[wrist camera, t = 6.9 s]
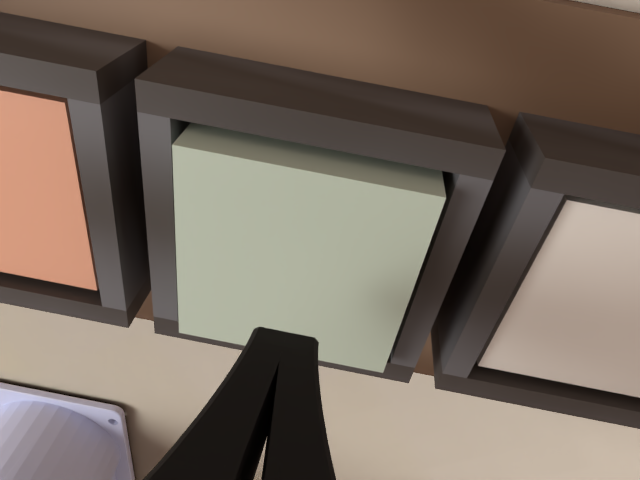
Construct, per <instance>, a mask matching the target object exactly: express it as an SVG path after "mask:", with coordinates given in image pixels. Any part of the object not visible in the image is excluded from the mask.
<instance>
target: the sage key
mask: <svg viewBox="0 0 640 480" xmlns="http://www.w3.org/2000/svg"><path fill="white" fill-rule="evenodd" d="M172 155H173V183H174V210H175V238H176V265H177V293H178V320H179V333H183V334H188V335H193V336H198V337H203V338H208V339H214V340H219V341H224V342H229V343H234V344H239V345H244V346H246V344H247V342H248V340H249V338H250V336H251V334H252V332H253V330H254V329H255V328H257V327H264V328H269V329H274V330H279V331H284V332H289V333H295V334H300V335H305V336H310V337H315V338H316V339H317V341H318V342H319V346H318V360H320V361H325V362H330V363H335V364H340V365H345V366H350V367H355V368H361V369H366V370H371V371H376V372H381V373H383V372H384V369H385V366H386V363H387V361H388V358H389V355H390V352H391V350H392V347H393V344H394V341H395V339H396V336H397V333H398V330H399V327H400V325H401V322H402V319H403V316H404V314H405V311H406V308H407V305H408V302H409V300H410V297H411V294H412V291H413V289H414V286H415V283H416V280H417V278H418V275H419V272H420V269H421V266H422V264H423V261H424V258H425V255H426V253H427V250H428V247H429V244H430V242H431V239H432V236H433V233H434V230H435V228H436V225H437V222H438V219H439V217H440V214H441V211H442V208H443V205H444V203H445V200H446V193H445V187H444V181H443V175H442V171H440V170H435V169H430V168H425V167H420V166H415V165H409V164H404V163H399V162H394V161H389V160H384V159H378V158H373V157H368V156H363V155H358V154H353V153H347V152H342V151H337V150H332V149H327V148H321V147H316V146H311V145H306V144H301V143H296V142H290V141H285V140H280V139H275V138H270V137H265V136H259V135H254V134H249V133H244V132H239V131H234V130H228V129H223V128H218V127H213V126H208V125H202V124H197V123H192V122H191V123H190V124H189V125H188V127H187V128H186V129H185V130H184V131H183V132H182V134H181V135H180V136H179V137H178V138H177V140H176V141H175V142H174V143H173V144H172Z"/></svg>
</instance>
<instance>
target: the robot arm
mask: <svg viewBox="0 0 640 480" xmlns="http://www.w3.org/2000/svg"><path fill="white" fill-rule="evenodd" d="M318 346H319V342H318V341H317V339H316V338H315V337H310V336H305V335H300V334H295V333H289V332H284V331H279V330H274V329H269V328H264V327H257V328H255V329H254V330H253V332H252V334H251V336H250V338H249V340H248V342H247V344H246V346H245V347H244V349H243V351H242V353H241V354H240V356H239V358H238V359H237V361H236V362H235V364H234V365H233V367H232V369H231V370H230V372H229V373H228V375H227V376H226V378H225V379H224V381H223V382H222V383H221V385H220V386H219V387H218V389H217V390H216V392H215V393H214V394H213V396H212V397H211V399H210V400H209V401H208V403H207V404H206V406H205V407H204V408H203V409H202V411H201V412H200V413H199V415H198V416H197V417H196V418H195V420H194V421H193V422H192V423H191V425H190V426H189V427H188V428H187V430H186V431H185V432H184V433H183V434H182V436H181V437H180V438H179V439H178V441H177V442H176V443H175V444H174V446H173V447H172V448H171V449H170V450H169V451H168V453H167V454H166V455H165V456H164V457H163V458H162V459H161V461H160V462H159V463H158V464H157V465H156V466H155V467H154V468H153V470H152V471H151V472H150V473H149V474H148V475H147V476H146V477H145V478H144V479H143V480H253V479H254V476H255V473H256V470H257V467H258V463H259V460H260V457H261V454H262V451H263V448H264V444H265V441H266V438H267V442H266V450H265V457H264V465H263V472H262V480H336V477H335V473H334V468H333V464H332V460H331V455H330V450H329V445H328V440H327V434H326V428H325V422H324V416H323V410H322V403H321V395H320V385H319V372H318ZM0 480H135V477H134V471H133V464H132V458H131V452H130V445H129V439H128V433H127V426H126V420H125V414H124V411H123V409H122V408H120V407H119V406H116V405H112V404H107V403H102V402H97V401H92V400H87V399H82V398H77V397H72V396H67V395H62V394H57V393H52V392H47V391H41V390H36V389H31V388H26V387H21V386H16V385H11V384H6V383H1V382H0Z"/></svg>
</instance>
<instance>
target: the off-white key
mask: <svg viewBox="0 0 640 480" xmlns="http://www.w3.org/2000/svg"><path fill="white" fill-rule="evenodd" d="M477 364H478V366H482V367H487V368H492V369H497V370H502V371H507V372H512V373H517V374H522V375H528V376H533V377H538V378H543V379H548V380H553V381H558V382H563V383H568V384H573V385H578V386H583V387H588V388H594V389H599V390H604V391H609V392H614V393H619V394H624V395H629V396H634V397H639V398H640V209H637V208H632V207H627V206H621V205H616V204H611V203H606V202H601V201H596V200H590V199H585V198H580V197H575V196H570V195H565V194H564V196H563V198H562V200H561V202H560V204H559V206H558V207H557V209H556V211H555V213H554V215H553V217H552V219H551V221H550V222H549V224H548V226H547V228H546V230H545V232H544V234H543V236H542V238H541V239H540V241H539V243H538V245H537V247H536V249H535V251H534V253H533V255H532V256H531V258H530V260H529V262H528V264H527V266H526V268H525V270H524V271H523V273H522V275H521V277H520V279H519V281H518V283H517V285H516V287H515V288H514V290H513V292H512V294H511V296H510V298H509V300H508V302H507V304H506V305H505V307H504V309H503V311H502V313H501V315H500V317H499V319H498V320H497V322H496V324H495V326H494V328H493V330H492V332H491V334H490V336H489V337H488V339H487V341H486V343H485V345H484V347H483V349H482V351H481V353H480V354H479V356H478V358H477Z"/></svg>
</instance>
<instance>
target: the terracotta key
mask: <svg viewBox="0 0 640 480" xmlns="http://www.w3.org/2000/svg"><path fill="white" fill-rule="evenodd" d="M0 272H5V273H10V274H15V275H20V276H25V277H30V278H35V279H40V280H45V281H50V282H55V283H60V284H66V285H71V286H76V287H81V288H86V289H91V290H96V291H97V290H98V289H99V284H98V278H97V272H96V266H95V260H94V255H93V249H92V243H91V237H90V231H89V225H88V219H87V213H86V207H85V201H84V195H83V189H82V183H81V177H80V171H79V165H78V159H77V153H76V147H75V141H74V135H73V129H72V123H71V117H70V112H69V106H68V100H67V98H63V97H58V96H52V95H47V94H42V93H37V92H32V91H27V90H21V89H16V88H11V87H6V86H1V85H0Z"/></svg>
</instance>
